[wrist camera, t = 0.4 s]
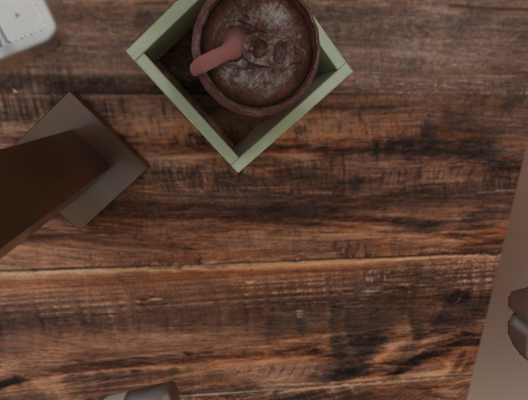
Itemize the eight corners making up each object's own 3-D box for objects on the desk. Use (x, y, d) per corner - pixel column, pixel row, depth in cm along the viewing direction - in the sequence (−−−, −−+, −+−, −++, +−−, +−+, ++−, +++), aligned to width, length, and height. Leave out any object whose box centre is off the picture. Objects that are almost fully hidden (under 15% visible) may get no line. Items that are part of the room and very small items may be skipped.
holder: (143, 58, 28) (125, 51, 23) (244, -39, 27) (251, -73, 22) (234, 158, 32) (237, 173, 26) (328, 74, 30) (353, 71, 25)
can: (185, 48, 29) (157, 13, 15) (257, 11, 28) (292, -57, 15) (222, 119, 30) (225, 143, 17) (289, 84, 30) (345, 81, 17)
